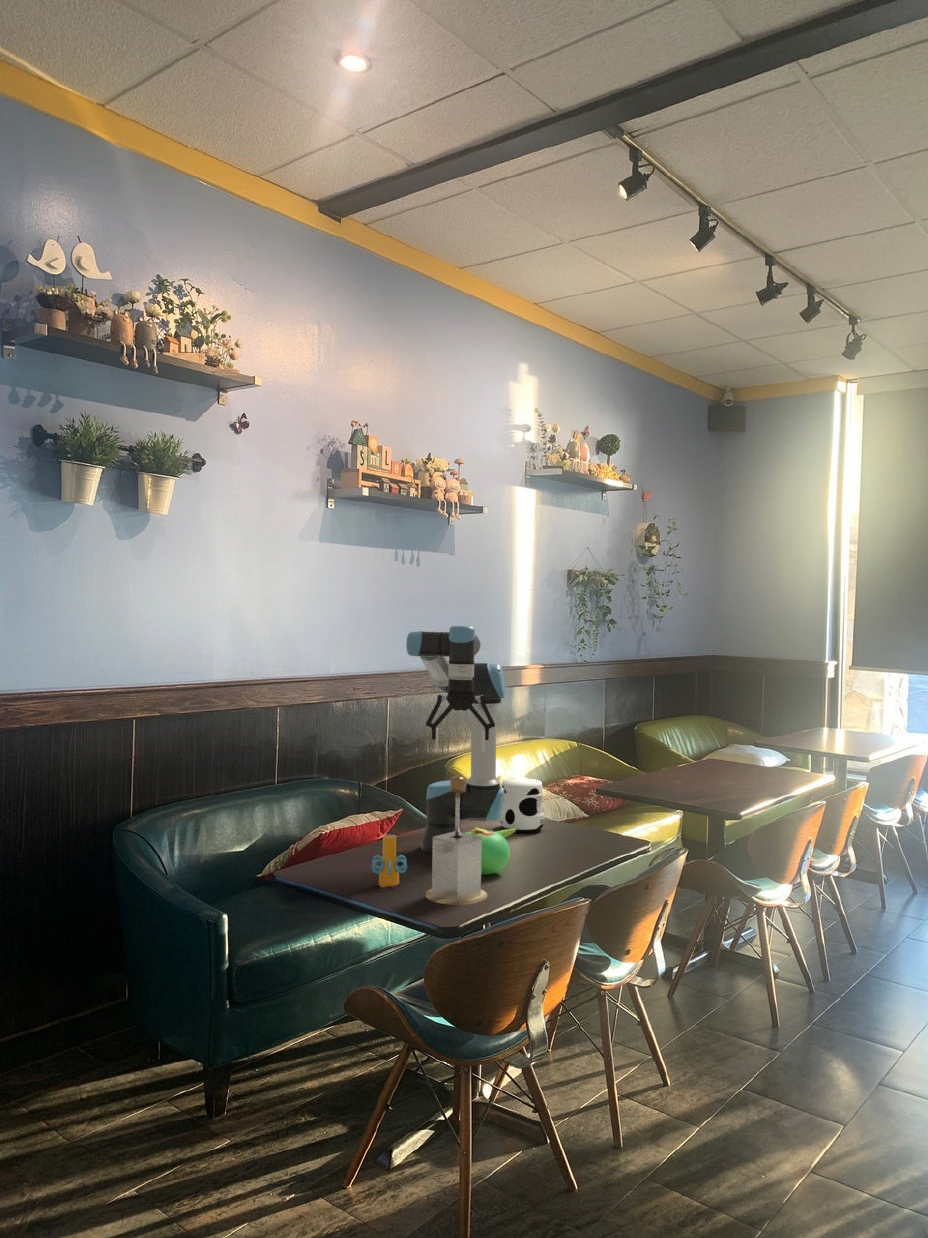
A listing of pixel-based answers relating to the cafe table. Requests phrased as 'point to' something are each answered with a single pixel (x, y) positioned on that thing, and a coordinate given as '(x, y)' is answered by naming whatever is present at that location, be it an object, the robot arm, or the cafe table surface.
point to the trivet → (464, 902)
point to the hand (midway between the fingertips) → (459, 751)
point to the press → (456, 866)
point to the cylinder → (389, 863)
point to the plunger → (457, 797)
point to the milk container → (522, 805)
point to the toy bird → (493, 849)
